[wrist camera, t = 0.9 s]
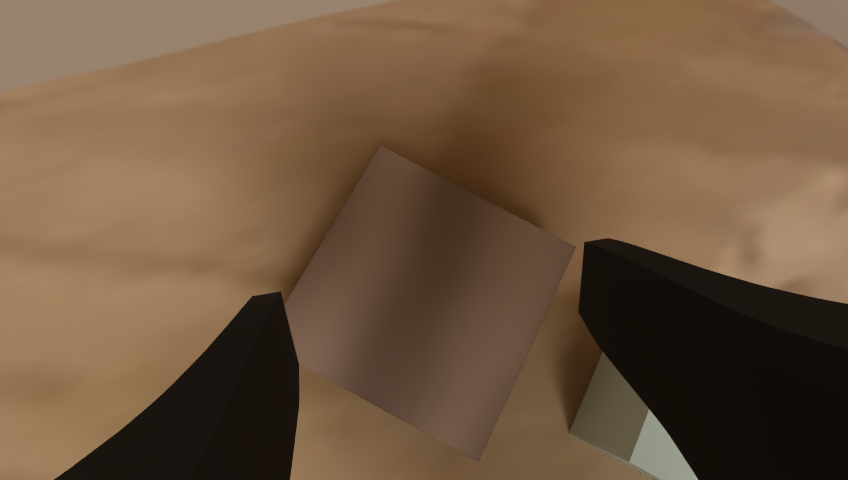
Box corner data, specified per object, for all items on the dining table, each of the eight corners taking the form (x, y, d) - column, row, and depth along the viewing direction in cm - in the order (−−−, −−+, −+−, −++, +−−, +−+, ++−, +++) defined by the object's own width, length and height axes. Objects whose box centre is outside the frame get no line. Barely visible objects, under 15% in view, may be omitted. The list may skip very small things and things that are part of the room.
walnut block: (550, 261, 25) (576, 246, 21) (465, 444, 22) (478, 462, 19) (381, 172, 25) (379, 145, 22) (281, 343, 23) (261, 342, 19)
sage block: (684, 391, 24) (781, 405, 18) (653, 479, 22) (744, 524, 17) (603, 348, 24) (672, 348, 18) (568, 433, 23) (629, 462, 17)
